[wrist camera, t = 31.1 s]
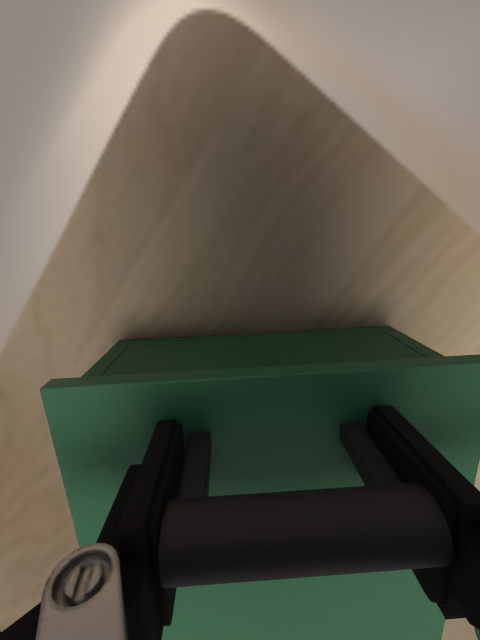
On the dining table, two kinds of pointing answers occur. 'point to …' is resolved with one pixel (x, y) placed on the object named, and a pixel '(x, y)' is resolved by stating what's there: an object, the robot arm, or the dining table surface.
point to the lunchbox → (258, 351)
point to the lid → (279, 490)
